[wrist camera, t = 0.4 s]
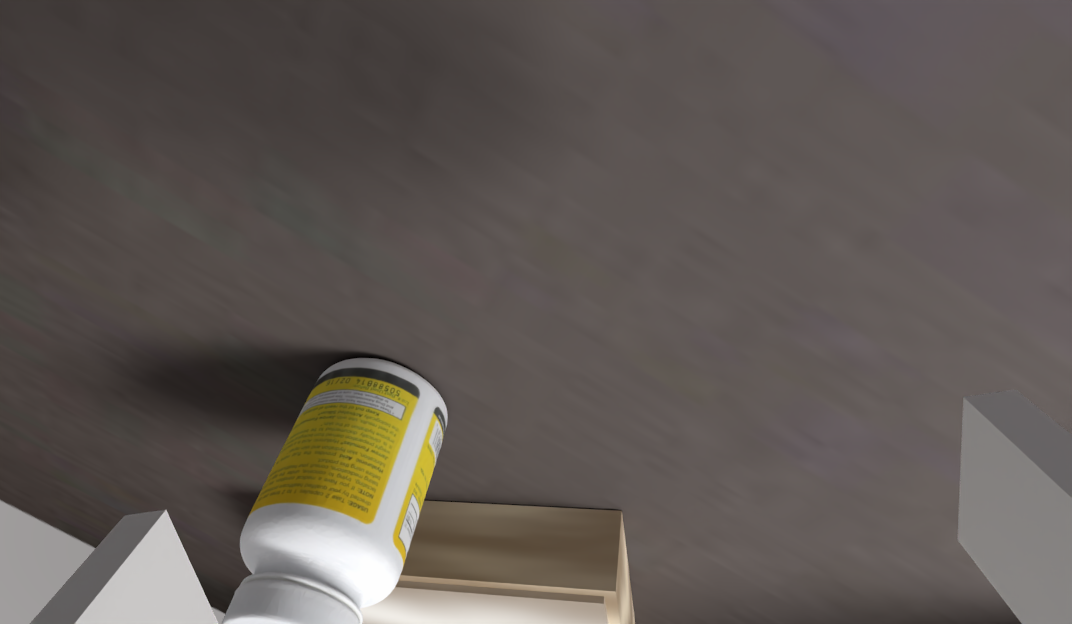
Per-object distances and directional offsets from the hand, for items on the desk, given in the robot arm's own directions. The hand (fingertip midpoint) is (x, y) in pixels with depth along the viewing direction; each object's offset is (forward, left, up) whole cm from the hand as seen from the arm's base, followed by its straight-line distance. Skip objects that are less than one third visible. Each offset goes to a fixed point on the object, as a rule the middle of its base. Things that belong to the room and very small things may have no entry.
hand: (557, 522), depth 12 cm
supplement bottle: (+10, -10, -11) cm, 18 cm away
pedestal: (+24, -9, -11) cm, 28 cm away
